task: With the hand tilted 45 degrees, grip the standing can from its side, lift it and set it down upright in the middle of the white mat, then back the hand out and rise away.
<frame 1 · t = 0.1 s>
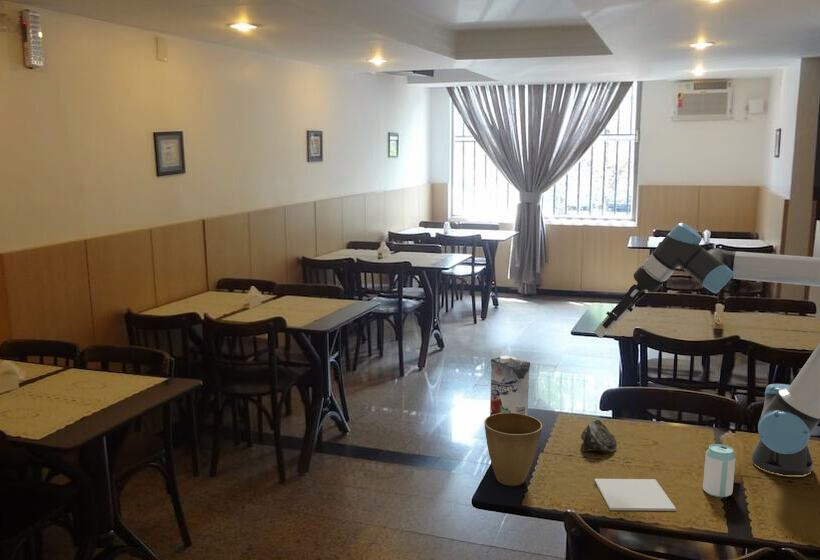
hand: (604, 329, 214), 36 cm above the table, tool tilted 35°, fingers open, 13 cm apart
juice carton: (507, 444, 224), on the table
can: (717, 493, 194), on the table
white mat: (633, 495, 192), on the table
plant pot: (511, 480, 200), on the table
fossil: (598, 450, 221), on the table
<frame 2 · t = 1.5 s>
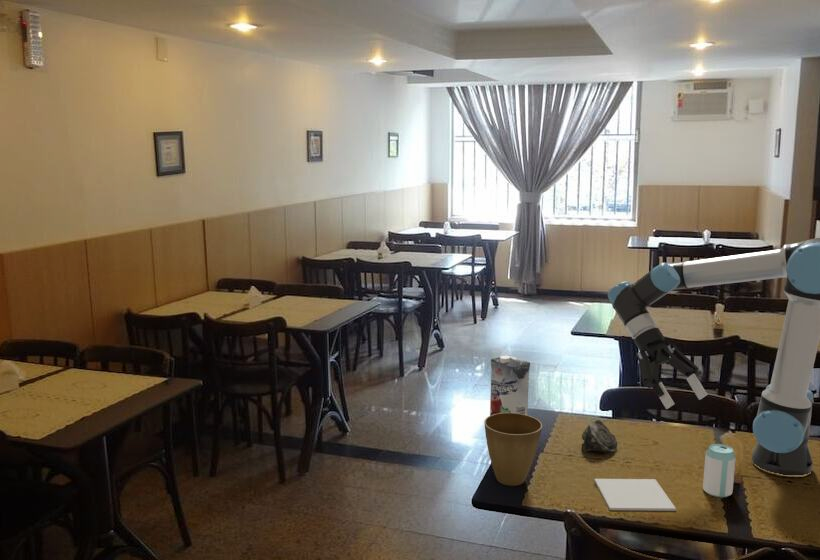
hand: (687, 402, 199), 21 cm above the table, tool tilted 45°, fingers open, 13 cm apart
nothing on the table moved.
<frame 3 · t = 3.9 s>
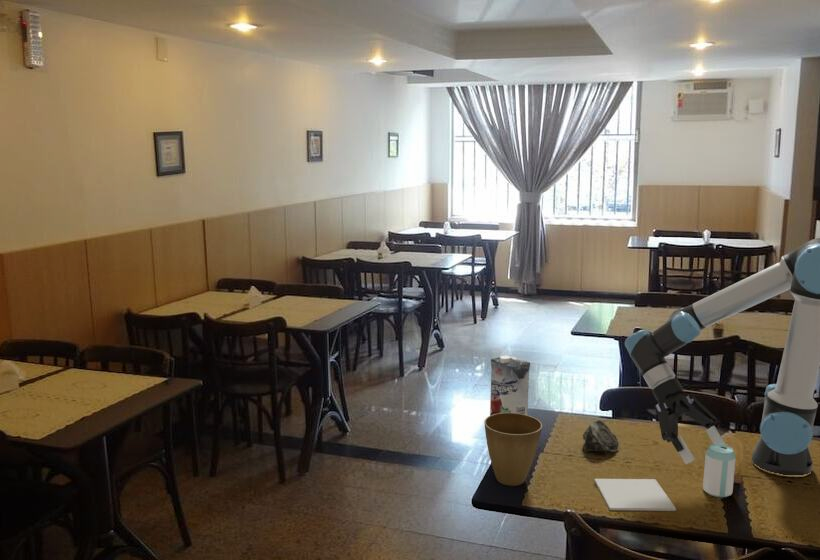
hand: (707, 456, 195), 9 cm above the table, tool tilted 45°, fingers open, 13 cm apart
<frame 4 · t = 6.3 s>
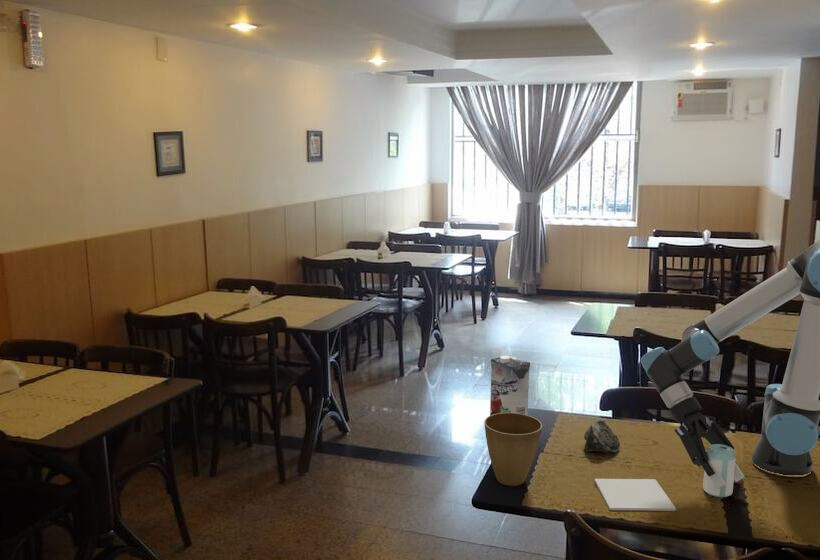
hand: (731, 482, 190), 4 cm above the table, tool tilted 45°, fingers closed on can, 7 cm apart
can: (717, 493, 194), on the table, touching gripper
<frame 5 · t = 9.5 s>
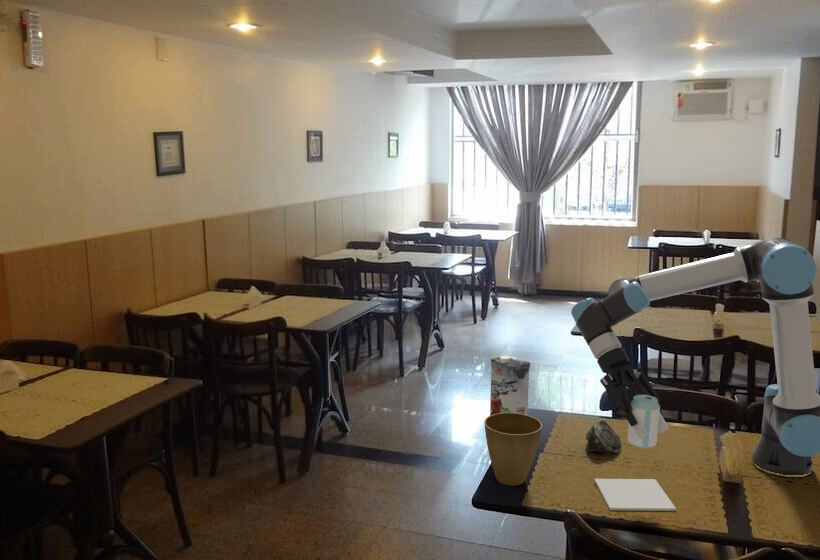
hand: (654, 433, 187), 17 cm above the table, tool tilted 45°, fingers closed on can, 7 cm apart
can: (641, 444, 191), point 13 cm above the table, touching gripper
when the fingers open (6 cm above the table, at t = 12.5 s): can drops 1 cm, resting on white mat.
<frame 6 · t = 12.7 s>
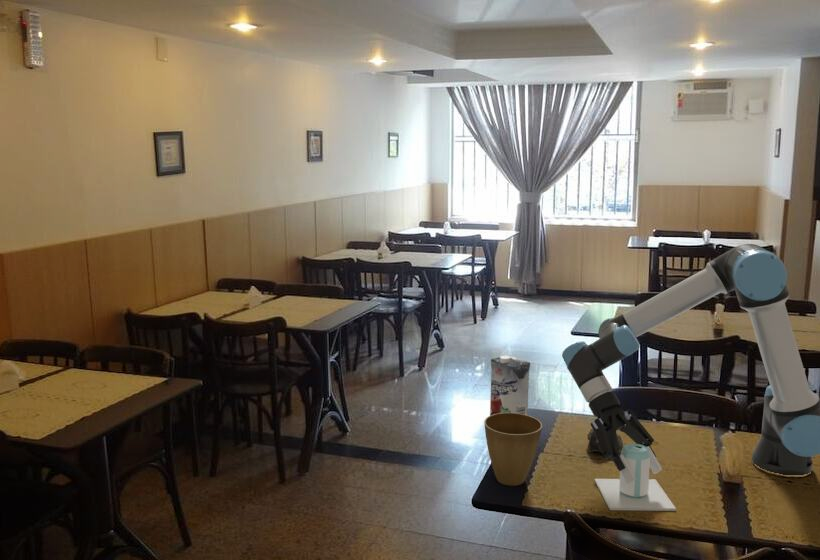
hand: (645, 476, 188), 6 cm above the table, tool tilted 45°, fingers open, 9 cm apart
can: (633, 493, 192), resting on white mat
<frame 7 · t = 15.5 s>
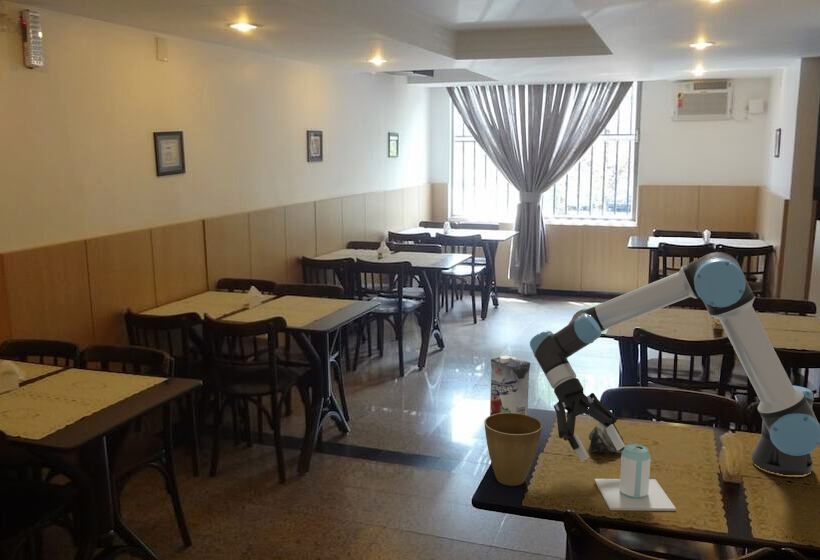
hand: (603, 454, 199), 7 cm above the table, tool tilted 45°, fingers open, 13 cm apart
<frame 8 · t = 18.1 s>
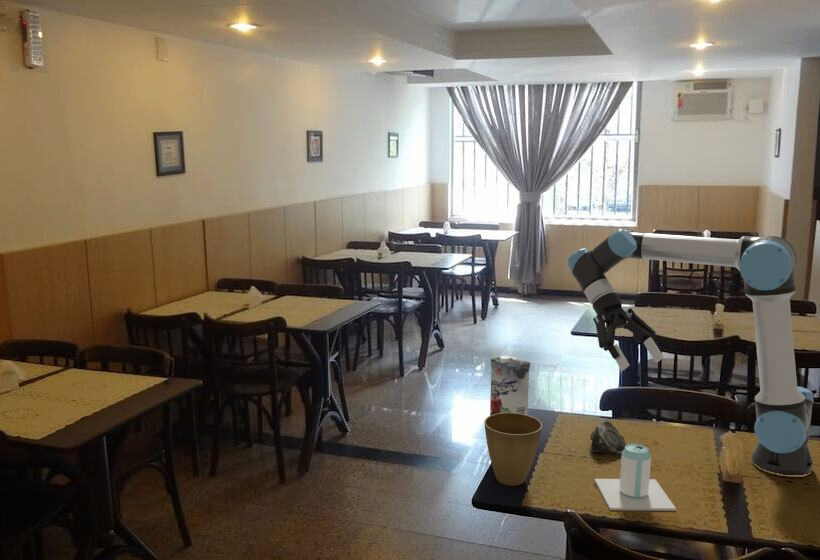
hand: (643, 364, 202), 30 cm above the table, tool tilted 45°, fingers open, 13 cm apart
at the end: can inside the target area on the white mat (0.0 cm from its centre), point 0.4 cm above the white mat's base; can tilted 0°; the gripper is holding nothing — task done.
